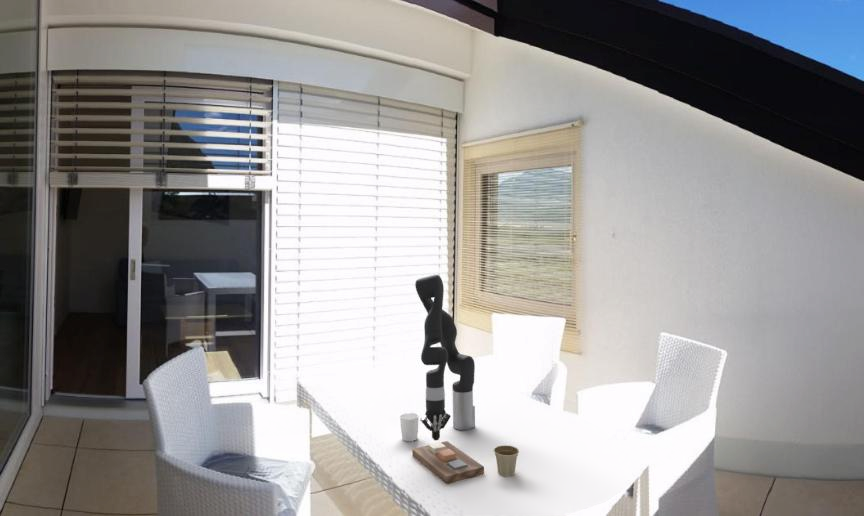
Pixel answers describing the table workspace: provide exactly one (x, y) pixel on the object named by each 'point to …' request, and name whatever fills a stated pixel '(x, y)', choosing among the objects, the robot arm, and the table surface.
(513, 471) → the flower pot
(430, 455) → the button board
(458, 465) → the grey pad
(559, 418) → the table surface
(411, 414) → the white cup
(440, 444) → the cream pad
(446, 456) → the terracotta pad
